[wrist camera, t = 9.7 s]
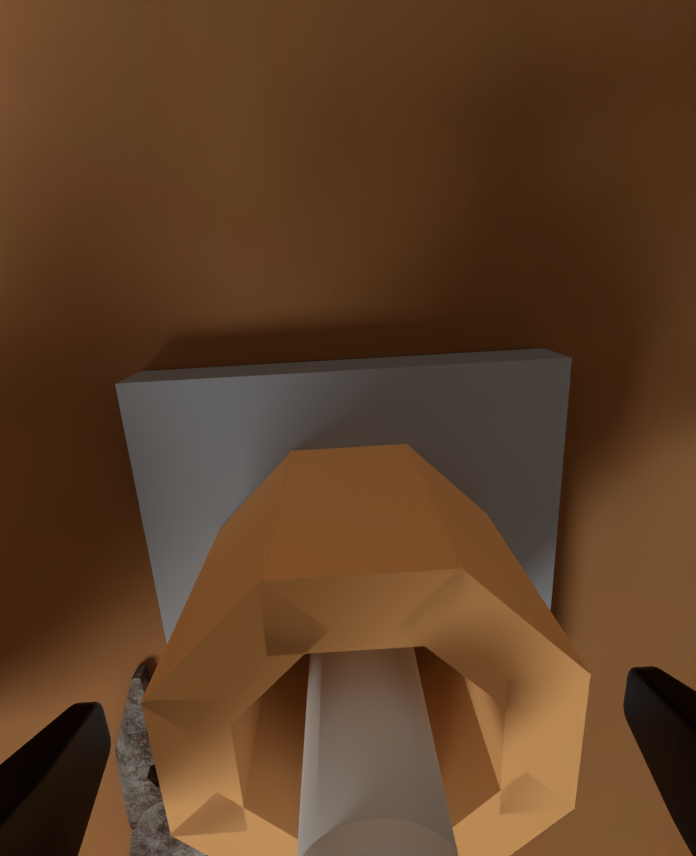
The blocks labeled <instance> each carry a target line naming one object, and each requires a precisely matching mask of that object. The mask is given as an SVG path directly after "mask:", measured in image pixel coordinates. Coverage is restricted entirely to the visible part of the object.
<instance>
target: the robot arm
mask: <svg viewBox="0 0 696 856" xmlns="http://www.w3.org/2000/svg"><path fill="white" fill-rule="evenodd" d="M623 707H624V714H625V717H626V720H627V722H628V725H629V727H630V729H631V731H632V733H633V735H634V738H635V740H636V742H637V744H638V746H639V748H640V750H641V753H642V755H643V757H644V759H645V761H646V763H647V766H648V768H649V770H650V772H651V774H652V776H653V779H654V781H655V783H656V785H657V787H658V789H659V792H660V794H661V796H662V798H663V800H664V802H665V804H666V807H667V809H668V811H669V813H670V815H671V817H672V819H673V821H674V823H675V825H676V826H677V828H678V830H679V832H680V834H681V836H682V837H683V839H684V841H685V843H686V845H687V846H688V848H689V850H690V852H691V853H692V855H693V856H696V691H694V690H693V689H691V688H690V687H688V686H687V685H685V684H683V683H682V682H680V681H679V680H677V679H675V678H674V677H672V676H671V675H669V674H667V673H666V672H664V671H663V670H661V669H659V668H657V667H653V666H649V667H634V668H631V669H630V671H629V672H628V676H627V683H626V690H625V697H624V705H623ZM110 748H111V738H110V733H109V729H108V725H107V722H106V718H105V714H104V710H103V707H102V705H101V704H100V703H99V702H85V703H76V704H74V705H72V706H70V707H69V708H68V709H67V710H65V711H64V712H63V713H62V714H61V715H59V716H58V717H57V718H56V719H55V720H53V721H52V722H51V723H50V724H49V725H47V726H46V727H45V728H44V729H43V730H41V731H40V732H39V733H38V734H37V735H35V736H34V737H33V738H32V739H31V740H29V741H28V742H27V743H26V744H25V745H23V746H22V747H21V748H20V749H19V750H17V751H16V752H15V753H14V754H13V755H11V756H10V757H9V758H8V759H7V760H5V761H4V762H3V763H2V764H1V765H0V856H78V854H79V851H80V848H81V845H82V841H83V838H84V835H85V832H86V828H87V825H88V822H89V819H90V815H91V812H92V809H93V806H94V802H95V799H96V796H97V793H98V789H99V786H100V783H101V780H102V776H103V773H104V770H105V767H106V763H107V760H108V757H109V753H110Z"/></svg>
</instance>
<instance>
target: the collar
mask: <svg viewBox="0 0 696 856" xmlns="http://www.w3.org/2000/svg"><path fill="white" fill-rule="evenodd" d="M405 647H414V652H415V656H416V661H417V666H418V670H419V675H420V680H421V684H422V689H423V694H424V698H425V703H426V707H427V712H428V717H429V721H430V726H431V731H432V735H433V740H434V745H435V749H436V754H437V758H438V763H439V768H440V772H441V777H442V782H443V786H444V791H445V796H446V800H447V805H448V809H449V814H450V819H451V823H452V828H453V833H454V837H455V842H456V847H457V851H458V856H510V855H511V854H513V853H514V852H515V851H517V850H518V849H519V848H521V847H522V846H524V845H525V844H526V843H528V842H529V841H530V840H532V839H533V838H535V837H536V836H537V835H539V834H540V833H541V832H543V831H544V830H545V829H547V828H548V827H550V826H551V825H552V824H554V823H555V822H556V821H558V820H559V819H561V818H562V817H563V816H565V815H566V814H567V813H569V812H570V811H572V810H574V808H576V807H575V800H576V792H577V783H578V775H579V766H580V758H581V750H582V741H583V733H584V725H585V716H586V708H587V699H588V691H589V683H590V676H591V673H590V671H589V670H588V668H587V667H586V665H585V664H584V662H583V661H582V659H581V657H580V656H579V654H578V653H577V651H576V650H575V648H574V647H573V645H572V644H571V642H570V641H569V639H568V637H567V636H566V634H565V633H564V631H563V630H562V628H561V627H560V625H559V624H558V622H557V621H556V619H555V618H554V616H553V614H552V613H551V611H550V610H549V608H548V607H547V605H546V604H545V602H544V601H543V599H542V598H541V596H540V594H539V593H538V591H537V590H536V588H535V587H534V585H533V584H532V582H531V581H530V579H529V578H528V576H527V574H526V573H525V571H524V570H523V568H522V567H521V565H520V564H519V562H518V561H517V559H516V558H515V556H514V554H513V553H512V551H511V550H510V548H509V547H508V545H507V544H506V542H505V541H504V539H503V538H502V536H501V534H500V533H499V531H498V530H497V528H496V527H495V525H494V524H493V522H492V521H491V519H490V518H489V516H488V514H487V513H486V512H484V511H483V510H482V509H481V508H480V507H479V506H477V505H476V504H475V503H474V502H473V501H472V500H471V499H469V498H468V497H467V496H466V495H465V494H464V493H463V492H461V491H460V490H459V489H458V488H457V487H456V486H455V485H453V484H452V483H451V482H450V481H449V480H448V479H447V478H445V477H444V476H443V475H442V474H441V473H440V472H439V471H437V470H436V469H435V468H434V467H433V466H432V465H431V464H429V463H428V462H427V461H426V460H425V459H424V458H423V457H421V456H420V455H419V454H418V453H417V452H416V451H414V450H413V449H412V448H411V447H410V446H409V445H408V444H397V445H380V446H363V447H346V448H329V449H312V450H295V451H293V450H292V451H290V453H289V454H288V455H287V456H286V457H285V458H284V460H283V461H282V462H281V463H280V464H279V465H278V466H277V467H276V468H275V469H274V471H273V472H272V473H271V474H270V475H269V476H268V477H267V478H266V479H265V480H264V481H263V483H262V484H261V485H260V486H259V487H258V488H257V489H256V490H255V491H254V492H253V493H252V495H251V496H250V497H249V498H248V499H247V500H246V501H245V502H244V503H243V504H242V506H241V507H240V508H239V509H238V510H237V511H236V512H235V513H234V514H233V515H232V516H231V518H230V519H229V520H228V521H227V522H226V523H225V524H224V525H223V526H222V527H221V528H220V529H219V531H218V534H217V536H216V538H215V540H214V542H213V545H212V547H211V549H210V551H209V553H208V556H207V558H206V560H205V562H204V564H203V566H202V569H201V571H200V573H199V575H198V577H197V580H196V582H195V584H194V586H193V588H192V591H191V593H190V595H189V597H188V599H187V601H186V604H185V606H184V608H183V610H182V612H181V615H180V617H179V619H178V621H177V623H176V626H175V628H174V630H173V632H172V634H171V637H170V639H169V641H168V643H167V645H166V647H165V650H164V652H163V654H162V656H161V658H160V661H159V663H158V665H157V667H156V669H155V672H154V674H153V676H152V678H151V680H150V682H149V685H148V687H147V689H146V691H145V693H144V696H143V698H142V700H141V703H140V705H141V706H142V710H143V715H144V719H145V724H146V728H147V732H148V737H149V741H150V745H151V750H152V754H153V759H154V763H155V767H156V772H157V776H158V781H159V785H160V789H161V794H162V798H163V802H164V807H165V811H166V816H167V820H168V824H169V829H170V835H171V837H175V838H177V839H178V840H180V841H182V842H184V843H186V844H188V845H189V846H191V847H193V848H195V849H197V850H198V851H200V852H202V853H204V854H206V855H208V856H297V845H298V830H299V814H300V799H301V783H302V768H303V752H304V737H305V721H306V706H307V690H308V675H309V659H310V653H326V652H342V651H357V650H373V649H389V648H405Z"/></svg>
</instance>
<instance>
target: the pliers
mask: <svg viewBox="0 0 696 856" xmlns="http://www.w3.org/2000/svg"><path fill="white" fill-rule="evenodd" d="M149 682H150V678H149V674H148V670H147V666H146V665H139V666H138V668H137V670H136V672H135V674H134V676H133V678H132V681H131V685H130V689H129V694H128V698H127V702H126V706H125V710H124V715H123V719H122V723H121V727H120V732H119V736H118V740H117V744H116V749H115V754H116V759H117V765H118V771H119V777H120V782H121V788H122V794H123V800H124V805H125V810H126V813H127V817H128V821H129V824H130V828H131V829H132V837H131V846H130V855H129V856H208V855H206V854H204V853H202V852H200V851H198V850H197V849H195V848H193V847H191V846H189V845H188V844H186V843H184V842H182V841H180V840H178V839H177V838H175V837H171V835H170V829H169V824H168V820H167V816H166V811H165V807H164V802H163V798H162V794H161V789H160V785H159V781H158V776H157V772H156V767H155V763H154V759H153V754H152V750H151V745H150V741H149V737H148V732H147V728H146V724H145V719H144V715H143V710H142V706H141V705H140V703H141V700H142V698H143V696H144V693H145V691H146V689H147V687H148V685H149Z"/></svg>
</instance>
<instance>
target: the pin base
mask: <svg viewBox="0 0 696 856" xmlns="http://www.w3.org/2000/svg"><path fill="white" fill-rule="evenodd" d="M571 364H572V357H569V356H566V355H563V354H560V353H557V352H554V351H551V350H548V349H545V348H538V349H520V350H503V351H485V352H468V353H450V354H433V355H415V356H398V357H380V358H362V359H345V360H327V361H310V362H292V363H275V364H257V365H240V366H222V367H204V368H187V369H169V370H152V371H140V372H138V373H136V374H134V375H132V376H130V377H128V378H126V379H124V380H122V381H119V382H117V383H115V387H116V392H117V397H118V402H119V407H120V412H121V417H122V422H123V427H124V432H125V437H126V442H127V447H128V452H129V457H130V462H131V467H132V472H133V477H134V482H135V487H136V493H137V498H138V503H139V508H140V513H141V518H142V523H143V528H144V533H145V538H146V543H147V548H148V553H149V558H150V563H151V568H152V573H153V578H154V583H155V588H156V593H157V598H158V603H159V608H160V613H161V618H162V623H163V628H164V633H165V638H166V643H168V641H169V639H170V637H171V634H172V632H173V630H174V628H175V626H176V623H177V621H178V619H179V617H180V615H181V612H182V610H183V608H184V606H185V604H186V601H187V599H188V597H189V595H190V593H191V591H192V588H193V586H194V584H195V582H196V580H197V577H198V575H199V573H200V571H201V569H202V566H203V564H204V562H205V560H206V558H207V556H208V553H209V551H210V549H211V547H212V545H213V542H214V540H215V538H216V536H217V534H218V531H219V529H220V528H221V527H222V526H223V525H224V524H225V523H226V522H227V521H228V520H229V519H230V518H231V516H232V515H233V514H234V513H235V512H236V511H237V510H238V509H239V508H240V507H241V506H242V504H243V503H244V502H245V501H246V500H247V499H248V498H249V497H250V496H251V495H252V493H253V492H254V491H255V490H256V489H257V488H258V487H259V486H260V485H261V484H262V483H263V481H264V480H265V479H266V478H267V477H268V476H269V475H270V474H271V473H272V472H273V471H274V469H275V468H276V467H277V466H278V465H279V464H280V463H281V462H282V461H283V460H284V458H285V457H286V456H287V455H288V454H289V453H290V451H292V450H293V451H295V450H312V449H329V448H346V447H363V446H380V445H397V444H408V445H409V446H410V447H411V448H412V449H413V450H414V451H416V452H417V453H418V454H419V455H420V456H421V457H423V458H424V459H425V460H426V461H427V462H428V463H429V464H431V465H432V466H433V467H434V468H435V469H436V470H437V471H439V472H440V473H441V474H442V475H443V476H444V477H445V478H447V479H448V480H449V481H450V482H451V483H452V484H453V485H455V486H456V487H457V488H458V489H459V490H460V491H461V492H463V493H464V494H465V495H466V496H467V497H468V498H469V499H471V500H472V501H473V502H474V503H475V504H476V505H477V506H479V507H480V508H481V509H482V510H483V511H484V512H486V513H487V514H488V516H489V518H490V519H491V521H492V522H493V524H494V525H495V527H496V528H497V530H498V531H499V533H500V534H501V536H502V538H503V539H504V541H505V542H506V544H507V545H508V547H509V548H510V550H511V551H512V553H513V554H514V556H515V558H516V559H517V561H518V562H519V564H520V565H521V567H522V568H523V570H524V571H525V573H526V574H527V576H528V578H529V579H530V581H531V582H532V584H533V585H534V587H535V588H536V590H537V591H538V593H539V594H540V596H541V598H542V599H543V601H544V602H545V604H546V605H547V607H548V608H549V610H550V611H551V600H552V588H553V576H554V564H555V553H556V541H557V529H558V517H559V505H560V494H561V482H562V470H563V458H564V446H565V435H566V423H567V411H568V399H569V388H570V376H571ZM297 856H458V851H457V847H456V842H455V837H454V833H453V828H452V823H451V819H450V814H449V809H448V805H447V800H446V796H445V791H444V786H443V782H442V777H441V772H440V768H439V763H438V758H437V754H436V749H435V745H434V740H433V735H432V731H431V726H430V721H429V717H428V712H427V707H426V703H425V698H424V694H423V689H422V684H421V680H420V675H419V670H418V666H417V661H416V656H415V652H414V647H405V648H389V649H373V650H357V651H342V652H326V653H310V659H309V675H308V690H307V706H306V721H305V737H304V752H303V768H302V783H301V799H300V814H299V830H298V845H297Z"/></svg>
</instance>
